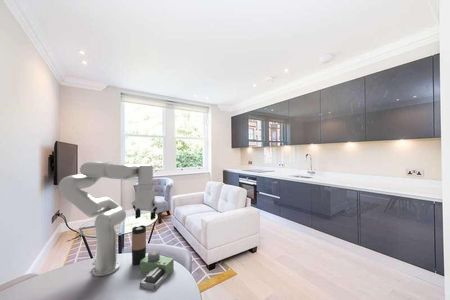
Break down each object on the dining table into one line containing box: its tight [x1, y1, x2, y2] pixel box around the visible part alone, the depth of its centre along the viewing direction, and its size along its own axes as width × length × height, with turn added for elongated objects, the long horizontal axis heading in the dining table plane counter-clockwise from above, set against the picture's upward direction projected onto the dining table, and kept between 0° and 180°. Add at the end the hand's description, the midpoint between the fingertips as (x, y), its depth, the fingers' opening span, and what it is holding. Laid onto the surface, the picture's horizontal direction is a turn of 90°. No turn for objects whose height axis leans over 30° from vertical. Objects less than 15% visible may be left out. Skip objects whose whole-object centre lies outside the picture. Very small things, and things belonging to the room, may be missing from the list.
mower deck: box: [139, 250, 174, 291], centre depth 97 cm, size 16×16×9 cm
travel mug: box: [131, 225, 147, 266], centre depth 111 cm, size 8×8×20 cm
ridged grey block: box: [145, 267, 162, 284], centre depth 93 cm, size 4×7×5 cm, turn 168°
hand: (145, 218), depth 102 cm, fingers open, 9 cm apart
